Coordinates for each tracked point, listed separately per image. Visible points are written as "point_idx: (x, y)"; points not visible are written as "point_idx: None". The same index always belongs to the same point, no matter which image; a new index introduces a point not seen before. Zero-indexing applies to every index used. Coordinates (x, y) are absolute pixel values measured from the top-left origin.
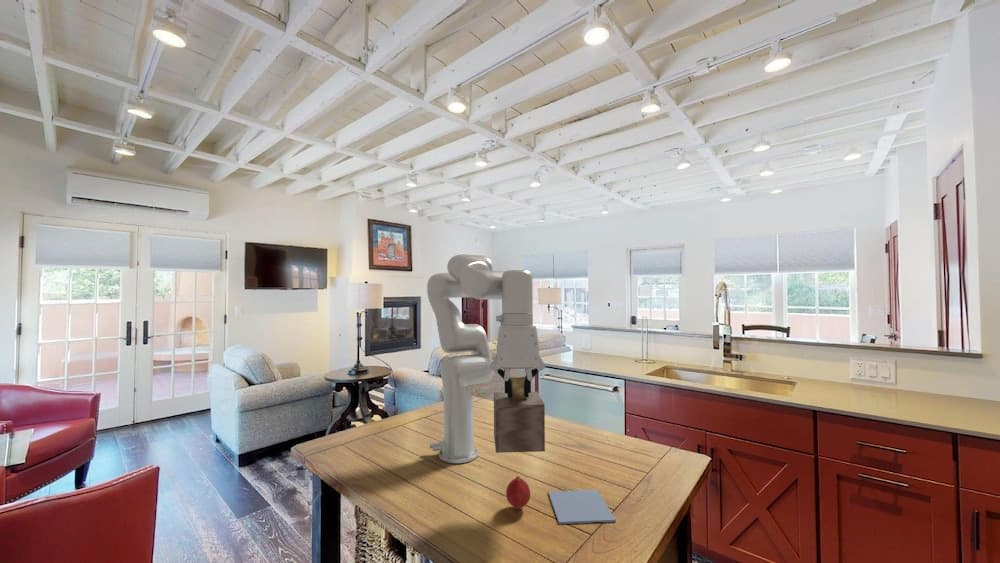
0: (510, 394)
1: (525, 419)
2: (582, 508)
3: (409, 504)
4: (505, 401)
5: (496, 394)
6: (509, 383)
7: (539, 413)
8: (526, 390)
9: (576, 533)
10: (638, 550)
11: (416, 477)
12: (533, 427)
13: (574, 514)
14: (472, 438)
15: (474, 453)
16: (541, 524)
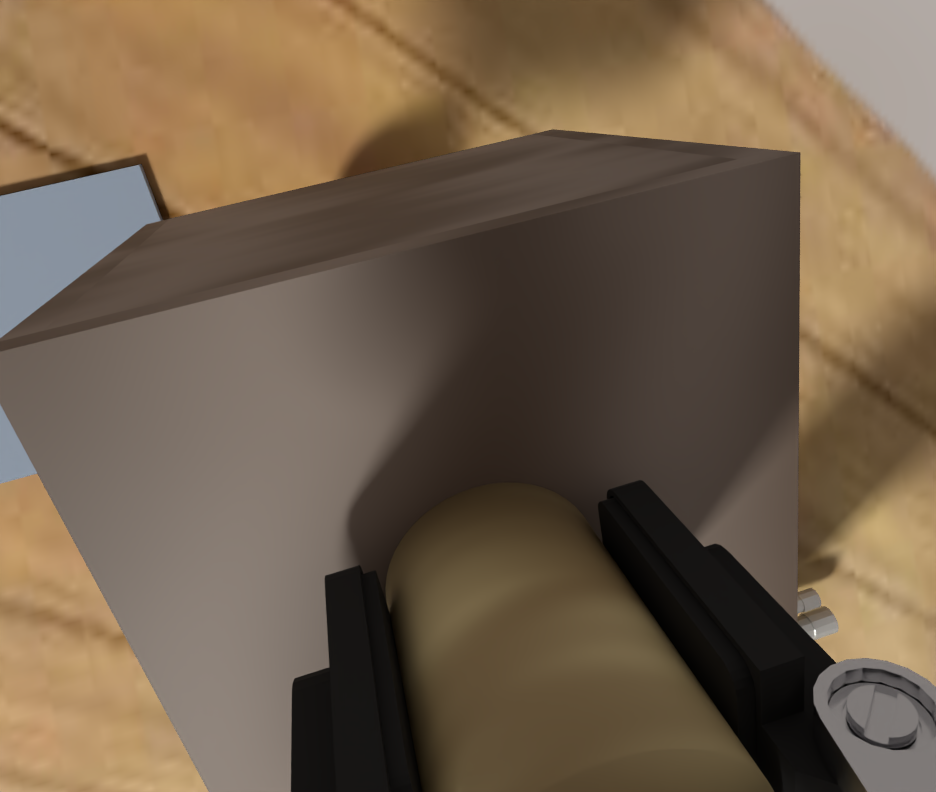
0: (624, 515)
1: (321, 229)
2: (32, 304)
3: (826, 207)
4: (657, 389)
5: None
6: (745, 633)
7: (112, 293)
8: (365, 636)
9: (36, 99)
10: None
11: (829, 411)
12: (225, 234)
13: (67, 243)
14: None
15: None
16: (229, 149)
